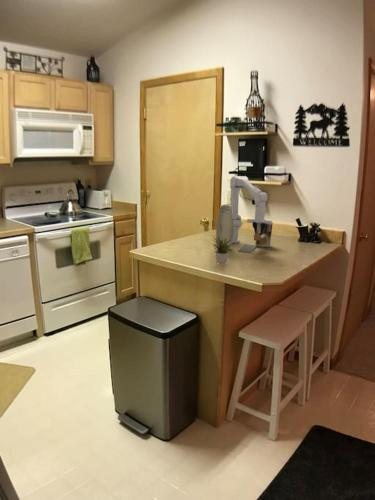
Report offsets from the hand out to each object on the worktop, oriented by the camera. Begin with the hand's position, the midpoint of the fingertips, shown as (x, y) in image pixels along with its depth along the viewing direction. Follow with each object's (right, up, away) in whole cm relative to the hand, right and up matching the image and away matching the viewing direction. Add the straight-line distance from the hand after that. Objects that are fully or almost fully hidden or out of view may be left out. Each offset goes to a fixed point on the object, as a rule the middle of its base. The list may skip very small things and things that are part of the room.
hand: (258, 235), depth 244 cm
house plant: (-26, -16, -24) cm, 39 cm away
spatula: (0, -2, +1) cm, 2 cm away
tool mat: (-5, -8, +9) cm, 13 cm away
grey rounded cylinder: (-21, -9, +5) cm, 23 cm away
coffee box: (+5, -6, +16) cm, 18 cm away
